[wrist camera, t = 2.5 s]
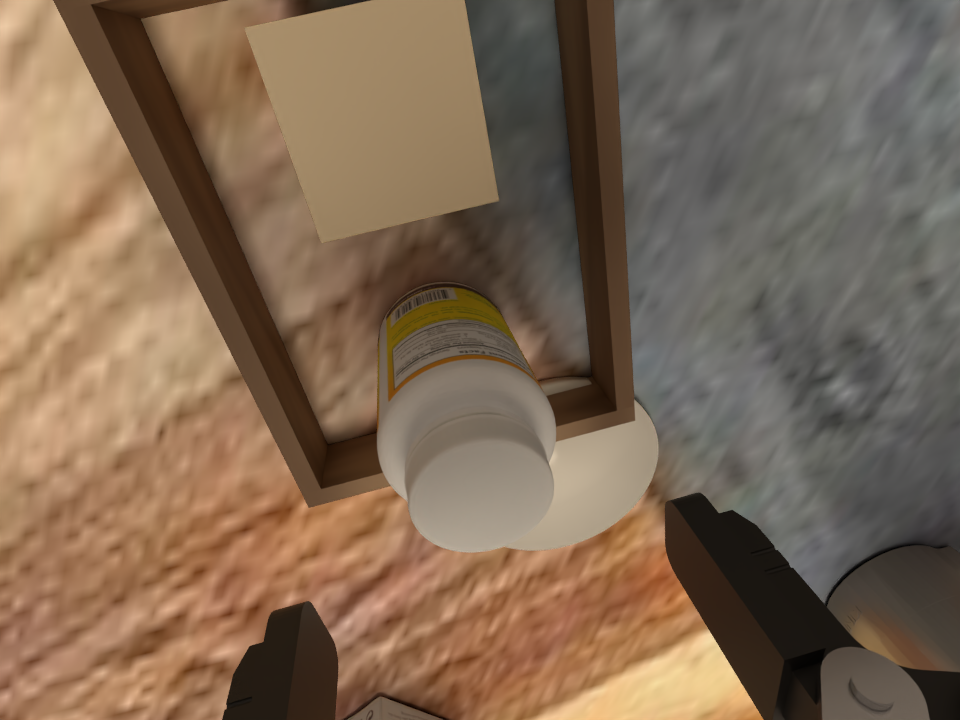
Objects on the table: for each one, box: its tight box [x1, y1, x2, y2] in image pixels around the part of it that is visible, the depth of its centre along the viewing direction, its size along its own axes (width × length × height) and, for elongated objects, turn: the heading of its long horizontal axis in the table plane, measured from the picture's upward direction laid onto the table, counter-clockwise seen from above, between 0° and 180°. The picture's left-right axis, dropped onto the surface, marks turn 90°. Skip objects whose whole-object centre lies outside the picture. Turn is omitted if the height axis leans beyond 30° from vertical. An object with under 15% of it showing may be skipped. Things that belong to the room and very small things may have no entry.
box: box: [244, 0, 499, 243], centre depth 15 cm, size 5×5×6 cm
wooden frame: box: [53, 0, 635, 508], centre depth 19 cm, size 15×19×3 cm
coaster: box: [504, 377, 659, 551], centre depth 27 cm, size 11×11×1 cm
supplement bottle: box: [377, 282, 556, 552], centre depth 18 cm, size 6×6×10 cm
